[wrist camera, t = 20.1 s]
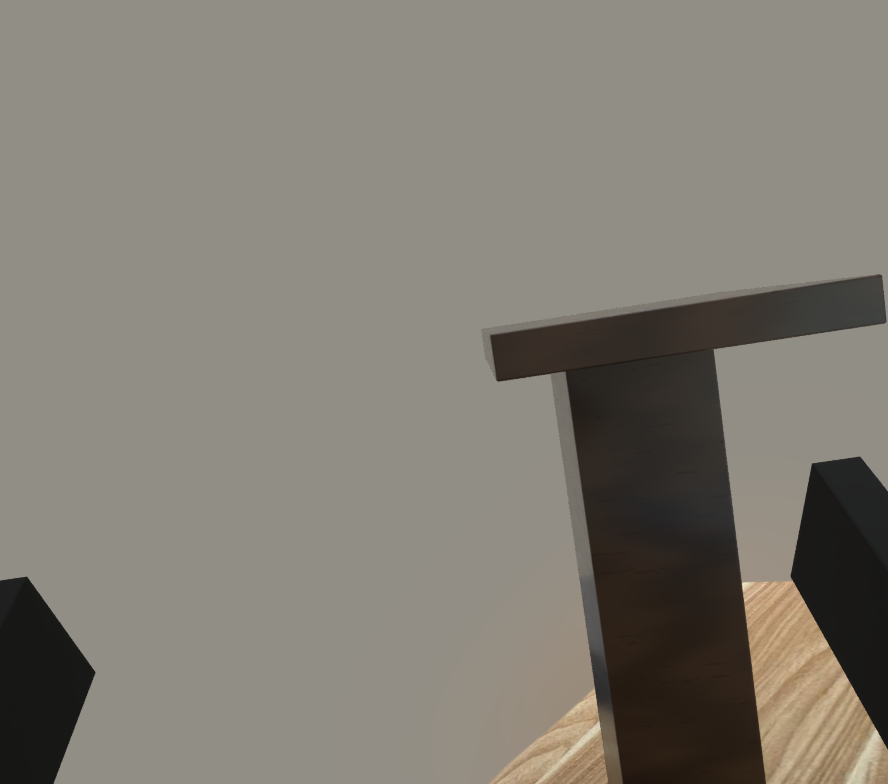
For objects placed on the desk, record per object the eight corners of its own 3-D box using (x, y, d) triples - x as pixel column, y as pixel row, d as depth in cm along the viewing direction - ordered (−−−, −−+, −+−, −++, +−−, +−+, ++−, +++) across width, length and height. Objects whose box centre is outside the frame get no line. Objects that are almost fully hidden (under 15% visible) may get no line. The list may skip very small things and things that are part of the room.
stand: (610, 1153, 25) (489, 334, 23) (557, 844, 40) (480, 329, 38) (965, 1117, 25) (882, 273, 22) (778, 817, 40) (715, 292, 37)
